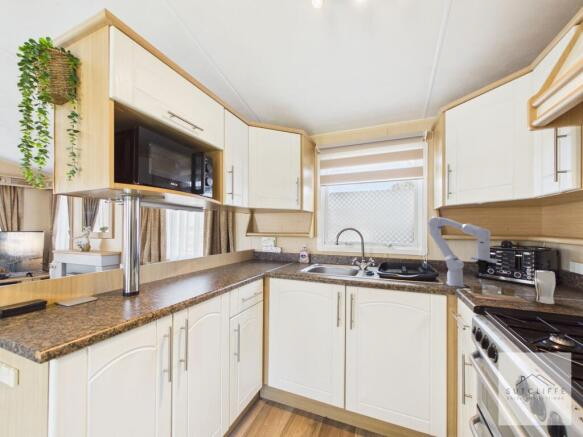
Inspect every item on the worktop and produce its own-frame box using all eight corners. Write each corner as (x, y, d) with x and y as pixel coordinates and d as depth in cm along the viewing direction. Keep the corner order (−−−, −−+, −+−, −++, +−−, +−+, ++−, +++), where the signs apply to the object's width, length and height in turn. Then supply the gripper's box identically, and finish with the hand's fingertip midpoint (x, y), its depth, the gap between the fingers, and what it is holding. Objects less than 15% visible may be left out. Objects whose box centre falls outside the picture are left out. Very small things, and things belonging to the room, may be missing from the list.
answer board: (461, 288, 140) (461, 287, 140) (508, 292, 133) (508, 291, 133) (476, 298, 121) (476, 297, 121) (531, 303, 114) (531, 302, 114)
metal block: (485, 292, 131) (485, 284, 131) (494, 293, 129) (494, 285, 129) (488, 294, 127) (488, 286, 127) (498, 295, 126) (498, 287, 126)
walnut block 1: (470, 290, 133) (470, 283, 133) (478, 291, 131) (478, 284, 132) (473, 292, 129) (473, 285, 129) (482, 293, 128) (482, 286, 128)
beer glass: (537, 303, 114) (537, 271, 114) (532, 299, 120) (532, 269, 120) (558, 306, 110) (558, 273, 110) (552, 302, 116) (551, 271, 116)
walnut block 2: (501, 293, 128) (501, 286, 128) (510, 294, 127) (510, 286, 127) (505, 295, 125) (505, 287, 125) (514, 296, 123) (514, 288, 123)
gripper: (466, 248, 143) (466, 271, 143) (488, 251, 129) (489, 276, 128) (476, 248, 144) (477, 271, 144) (500, 251, 130) (500, 276, 129)
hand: (483, 273), depth 136 cm, fingers closed
